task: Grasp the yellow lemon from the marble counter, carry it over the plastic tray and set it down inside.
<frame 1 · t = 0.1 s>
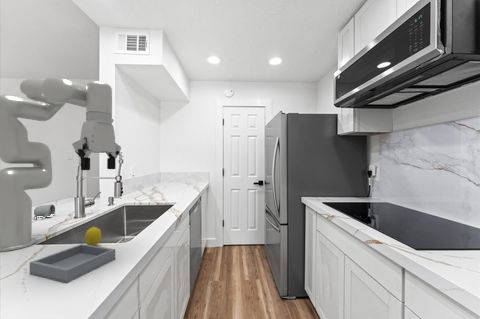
hand: (99, 169, 76), 31 cm above the worktop, tool pointing down, fingers open, 9 cm apart
lemon: (93, 247, 89), on the worktop
tray: (75, 266, 73), on the worktop
ceramic mug: (44, 218, 136), on the worktop
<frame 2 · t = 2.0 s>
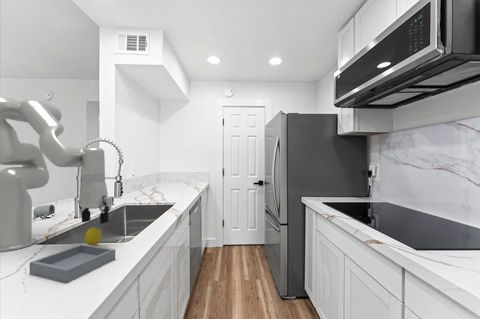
hand: (95, 222, 89), 10 cm above the worktop, tool pointing down, fingers open, 9 cm apart
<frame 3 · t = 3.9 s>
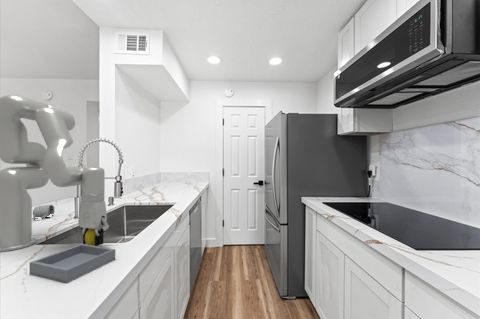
hand: (93, 243, 89), 1 cm above the worktop, tool pointing down, fingers closed on lemon, 5 cm apart
lemon: (93, 247, 89), on the worktop, touching gripper
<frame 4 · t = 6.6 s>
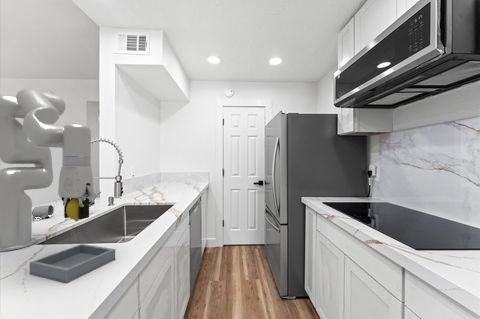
hand: (76, 217, 74), 16 cm above the worktop, tool pointing down, fingers closed on lemon, 5 cm apart
lemon: (76, 221, 74), point 14 cm above the worktop, touching gripper
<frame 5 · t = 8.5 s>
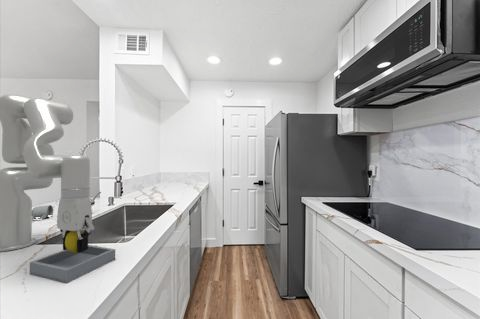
hand: (75, 249, 73), 5 cm above the worktop, tool pointing down, fingers closed on lemon, 5 cm apart
lemon: (75, 253, 73), point 4 cm above the worktop, touching gripper
when the fingers open (4 cm above the worktop, at t = 9.7 s): lemon drops 2 cm, resting on tray.
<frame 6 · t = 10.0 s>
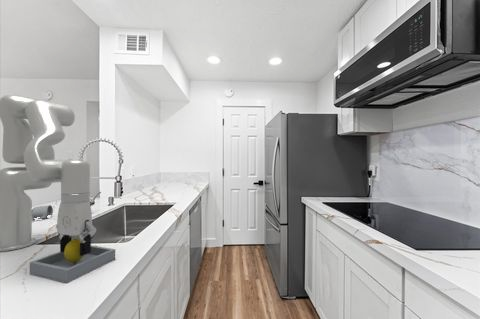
hand: (75, 252, 73), 5 cm above the worktop, tool pointing down, fingers open, 8 cm apart
lemon: (74, 264, 73), point 1 cm above the worktop, touching tray
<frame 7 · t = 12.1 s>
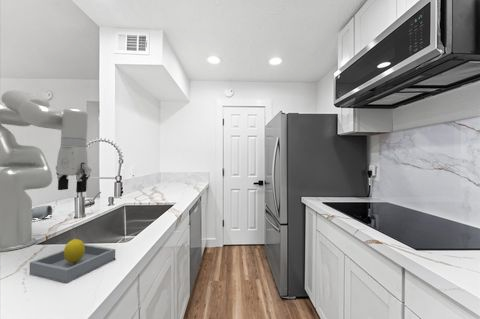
hand: (72, 190, 81), 23 cm above the worktop, tool pointing down, fingers open, 9 cm apart
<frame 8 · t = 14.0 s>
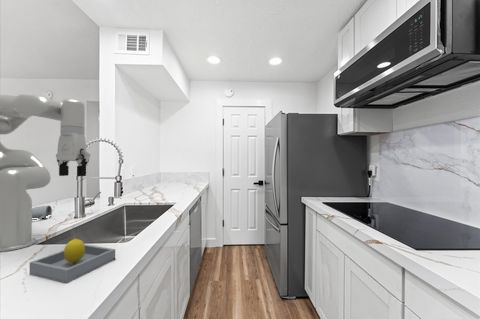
hand: (72, 175, 87), 28 cm above the worktop, tool pointing down, fingers open, 9 cm apart
at the end: lemon inside the target area on the tray (0.4 cm from its centre), point 0.6 cm above the tray's base; lemon touching tray; the gripper is holding nothing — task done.
